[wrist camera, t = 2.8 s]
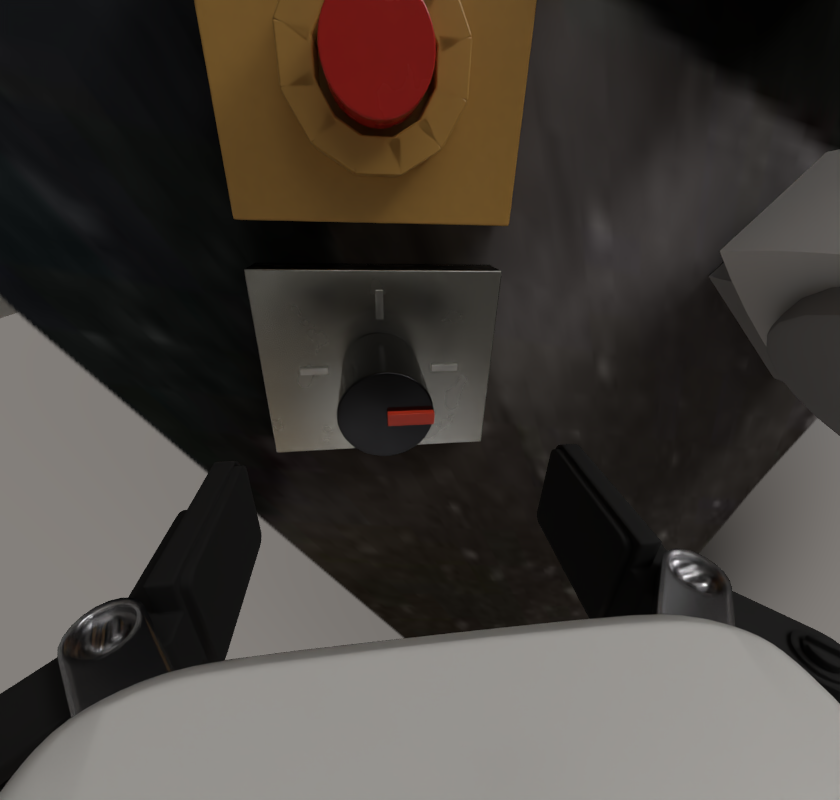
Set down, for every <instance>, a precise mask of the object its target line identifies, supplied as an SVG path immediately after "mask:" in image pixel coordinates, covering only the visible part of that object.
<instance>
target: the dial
mask: <svg viewBox="0 0 840 800" xmlns="http://www.w3.org/2000/svg"><path fill="white" fill-rule="evenodd" d="M434 415H435V413H434V407H433V402H432V399H431V396H430V394H429V391H428V388H427V385H426V382H425V379H424V376H423V374H422V371H421V368H420V365H419V362H418V359H417V356H416V354H415V352H414V350H413V349H412V348H411V346H410V345H409V344H408V343H407V342H405V341H404V340H403V339H401V338H399V337H397V336H395V335H391V334H386V333H375V334H370V335H367V336H364V337H362V338H360V339H359V340H357V341H356V342H355V343H353V344H352V345H351V347H350V348H349V349H348V351H347V352H346V354H345V356H344V359H343V363H342V371H341V380H340V389H339V398H338V407H337V422H338V426H339V429H340V431H341V433H342V435H343V436H344V438H345V439H346V440H347V441H348V442H349V443H350V444H351V445H352V446H353V447H355V448H357V449H358V450H360V451H362V452H365V453H368V454H371V455H377V456H391V455H396V454H400V453H403V452H406V451H408V450H410V449H411V448H413V447H415V446H416V445H417V444H419V443H420V442H421V441H422V440H423V439H424V437H425V436H426V435H427V433H428V431H429V430H430V427H431V425H432V424H434Z"/></svg>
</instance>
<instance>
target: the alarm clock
mask: <svg viewBox="0 0 840 800" xmlns="http://www.w3.org/2000/svg"><path fill="white" fill-rule="evenodd" d="M720 253H721V256H722V259H723V261H724V263H723V264H722V265H721V266H720V267H719V268H717V269H716V270H715V271H714V272H713V273H712V274H711V275H710V276H709V278H710V279H711V281H712V282H713V284H714V286H715V287H716V289H717V290H718V292H719V293H720V295H721V297H722V298H723V300H724V301H725V303H726V304H727V306H728V307H729V309H730V311H731V312H732V314H733V315H734V317H735V318H736V320H737V321H738V323H739V325H740V326H741V328H742V329H743V331H744V332H745V334H746V336H747V337H748V339H749V340H750V342H751V343H752V345H753V346H754V348H755V350H756V351H757V353H758V354H759V356H760V357H761V359H762V361H763V362H764V364H765V365H766V367H767V368H768V370H769V371H770V373H771V375H772V376H773V378H775V379H778V380H780V381H782V382H784V383H785V384H786V385H787V387H788V388H789V389H790V391H791V392H792V393H793V394H794V395H795V396H796V397H797V398H798V399H799V400H800V401H801V402H802V403H803V404H804V405H805V406H806V407H807V408H808V409H809V410H810V411H811V412H812V413H813V414H814V415H815V416H816V417H817V418H818V419H820V420H821V421H822V422H823V423H825V424H826V425H827V426H828V427H829V428H831V429H832V430H833V431H834V432H836V433H837V434H838V435H839V436H840V149H839V150H835V151H831V152H827V153H825V154H824V155H823V156H822V157H821V158H820V159H819V160H818V161H817V162H816V163H814V164H813V165H812V166H811V167H810V168H809V169H808V170H807V171H806V172H805V173H804V174H803V175H801V176H800V177H799V178H798V179H797V180H796V181H795V182H794V183H793V184H792V185H791V186H790V187H788V188H787V189H786V190H785V191H784V192H783V193H782V194H781V195H780V196H779V197H778V198H776V199H775V200H774V201H773V202H772V203H771V204H770V205H769V206H768V207H767V208H766V209H765V210H763V211H762V212H761V213H760V214H759V215H758V216H757V217H756V218H755V219H754V220H753V221H752V222H750V223H749V224H748V225H747V226H746V227H745V228H744V229H743V230H742V231H741V232H740V233H739V234H737V235H736V236H735V237H734V238H733V239H732V240H731V241H730V242H729V243H728V244H727V245H726V246H724V247H723V248H722V249H721V250H720Z"/></svg>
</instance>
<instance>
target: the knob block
mask: <svg viewBox="0 0 840 800" xmlns="http://www.w3.org/2000/svg"><path fill="white" fill-rule="evenodd" d="M423 1H424V3H425V5H426V7H427V9H428V12H429V14H430V17H431V20H432V23H433V28H434V33H435V41H436V58H435V66H434V71H433V75H432V79H431V82H430V84H429V86H428V89H427V91H426V92H425V94H424V96H423V98H422V99H421V101H420V103H419V104H418V106H417V107H416V109H415V110H414V111H413V113H412V114H411V115H410V116H409V117H408V118H407V119H405V120H404V121H403V122H401V123H399V124H398V125H396V126H393V127H390V128H385V129H375V128H369V127H366V126H363V125H361V124H359V123H357V122H355V121H354V120H352V119H351V118H350V117H349V116H347V115H346V114H345V113H344V112H343V111H342V109H341V108H340V107H339V106H338V104H337V103H336V101H335V100H334V98H333V96H332V94H331V92H330V90H329V88H328V85H327V82H326V79H325V76H324V73H323V69H322V66H321V62H320V58H319V53H318V44H317V29H318V20H319V15H320V11H321V8H322V5H323V2H324V0H194V3H195V9H196V14H197V20H198V25H199V31H200V36H201V42H202V47H203V53H204V59H205V64H206V70H207V75H208V81H209V86H210V92H211V97H212V103H213V108H214V114H215V119H216V125H217V131H218V136H219V142H220V147H221V153H222V158H223V164H224V169H225V175H226V180H227V186H228V191H229V197H230V203H231V208H232V214H233V218H234V219H235V220H271V221H314V222H357V223H400V224H443V225H486V226H508V225H509V219H510V211H511V203H512V195H513V187H514V179H515V171H516V163H517V155H518V147H519V139H520V131H521V123H522V115H523V107H524V99H525V91H526V83H527V74H528V66H529V58H530V50H531V42H532V34H533V26H534V18H535V10H536V2H537V0H423Z"/></svg>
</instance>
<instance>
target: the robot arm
mask: <svg viewBox="0 0 840 800" xmlns="http://www.w3.org/2000/svg"><path fill="white" fill-rule="evenodd" d="M537 518H538V522H539V524H540V526H541V528H542V530H543V532H544V534H545V536H546V538H547V540H548V541H549V543H550V545H551V547H552V549H553V551H554V553H555V555H556V556H557V558H558V560H559V562H560V564H561V566H562V568H563V570H564V572H565V573H566V575H567V577H568V579H569V581H570V583H571V585H572V587H573V589H574V590H575V592H576V594H577V596H578V598H579V600H580V602H581V604H582V605H583V607H584V609H585V611H586V613H587V615H588V617H589V618H590V619H582V620H572V621H563V622H553V623H543V624H534V625H524V626H514V627H505V628H495V629H486V630H477V631H468V632H458V633H449V634H440V635H431V636H422V637H413V638H404V639H396V640H386V641H378V642H368V643H360V644H351V645H342V646H334V647H325V648H316V649H308V650H299V651H291V652H283V653H275V654H268V655H260V656H253V657H246V658H238V659H230V660H225V658H226V655H227V652H228V649H229V645H230V642H231V639H232V636H233V632H234V629H235V626H236V623H237V619H238V616H239V612H240V609H241V606H242V603H243V600H244V596H245V593H246V590H247V587H248V583H249V580H250V577H251V574H252V570H253V567H254V564H255V561H256V557H257V554H258V551H259V548H260V543H261V530H260V526H259V521H258V517H257V512H256V508H255V503H254V499H253V495H252V490H251V486H250V482H249V477H248V473H247V469H246V467H245V466H244V465H243V466H240V464H239V462H238V461H223V462H215V463H214V464H213V466H212V468H211V469H210V471H209V473H208V475H207V477H206V478H205V480H204V482H203V484H202V485H201V487H200V489H199V490H198V492H197V494H196V496H195V497H194V499H193V501H192V503H191V504H190V506H189V508H188V509H187V510H183V511H181V512H180V513H179V514H178V516H177V517H176V519H175V520H174V522H173V523H172V525H171V527H170V529H169V530H168V532H167V534H166V535H165V537H164V539H163V540H162V542H161V544H160V545H159V547H158V549H157V550H156V552H155V554H154V555H153V557H152V559H151V560H150V562H149V564H148V565H147V567H146V569H145V570H144V572H143V574H142V575H141V577H140V579H139V580H138V582H137V584H136V585H135V587H134V589H133V590H132V592H131V594H130V595H129V597H128V598H119V599H115V600H111V601H108V602H106V603H103V604H101V605H99V606H97V607H95V608H93V609H92V610H90V611H89V612H87V613H86V614H84V615H83V616H82V617H80V618H79V619H78V620H77V621H76V622H75V623H74V624H73V625H72V626H71V627H70V628H69V629H68V631H67V632H66V634H65V635H64V636H63V637H62V640H61V642H60V644H59V647H58V657H57V658H56V659H54V660H52V661H51V662H49V663H48V664H46V665H45V666H43V667H42V668H40V669H38V670H37V671H35V672H34V673H32V674H31V675H29V676H28V677H26V678H24V679H23V680H21V681H20V682H18V683H17V684H15V685H14V686H12V687H10V688H9V689H8V690H6V691H4V692H3V693H1V694H0V800H840V644H839V643H837V642H836V641H834V640H833V639H831V638H830V637H828V636H826V635H824V634H823V633H821V632H819V631H817V630H815V629H813V628H811V627H808V626H806V625H804V624H802V623H800V622H798V621H796V620H793V619H791V618H789V617H787V616H785V615H783V614H781V613H778V612H776V611H774V610H772V609H770V608H768V607H766V606H763V605H761V604H759V603H757V602H755V601H753V600H751V599H748V598H746V597H744V596H742V595H740V594H738V593H736V592H733V591H732V586H731V583H730V580H729V579H728V577H727V576H726V574H725V573H724V571H722V570H721V569H720V568H719V567H718V566H717V565H716V564H715V563H713V562H712V561H710V560H709V559H708V558H706V557H704V556H702V555H700V554H698V553H695V552H692V551H689V550H685V549H673V550H669V551H667V550H666V549H665V548H664V547H663V546H662V544H661V543H662V541H661V540H660V539H659V538H658V537H657V536H656V535H655V533H654V532H653V531H652V530H651V529H650V528H649V526H648V525H647V524H646V523H645V522H644V521H643V519H642V518H641V517H640V516H639V515H638V514H637V512H636V511H635V510H634V509H633V508H632V507H631V505H630V504H629V503H628V502H627V501H626V500H625V498H624V497H623V496H622V495H621V494H620V493H619V492H618V490H617V489H616V488H615V487H614V486H613V485H612V483H611V482H610V481H609V480H608V479H607V478H606V476H605V475H604V474H603V473H602V472H601V471H600V469H599V468H598V467H597V466H596V465H595V464H594V462H593V461H592V460H591V459H590V458H589V457H588V455H587V454H586V453H585V452H584V451H583V450H582V448H581V447H580V446H579V445H577V444H563V445H558V446H557V447H556V449H554V450H552V451H551V454H550V459H549V463H548V467H547V472H546V476H545V480H544V485H543V489H542V494H541V498H540V502H539V507H538V511H537Z"/></svg>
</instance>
